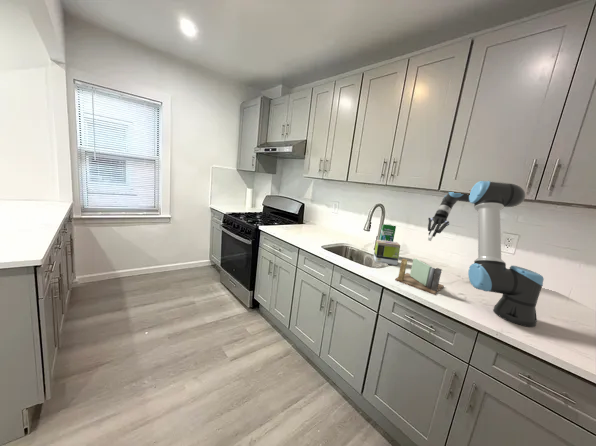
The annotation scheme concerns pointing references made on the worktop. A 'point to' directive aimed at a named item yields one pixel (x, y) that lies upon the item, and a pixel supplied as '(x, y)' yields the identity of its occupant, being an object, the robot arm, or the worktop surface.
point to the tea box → (386, 252)
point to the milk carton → (387, 232)
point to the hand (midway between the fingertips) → (429, 239)
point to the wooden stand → (414, 283)
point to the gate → (422, 272)
